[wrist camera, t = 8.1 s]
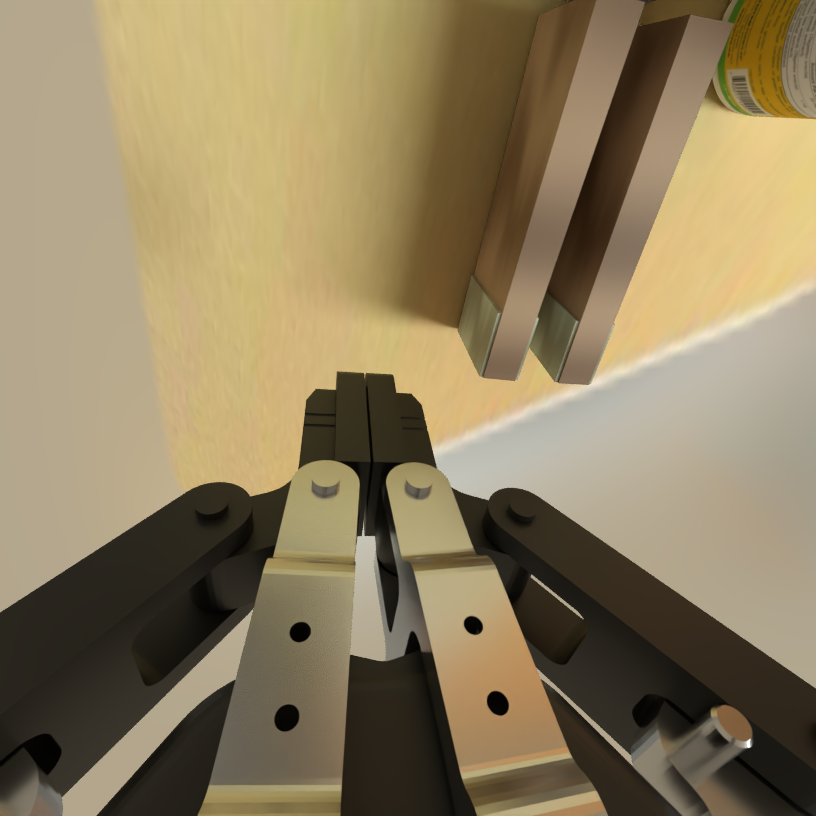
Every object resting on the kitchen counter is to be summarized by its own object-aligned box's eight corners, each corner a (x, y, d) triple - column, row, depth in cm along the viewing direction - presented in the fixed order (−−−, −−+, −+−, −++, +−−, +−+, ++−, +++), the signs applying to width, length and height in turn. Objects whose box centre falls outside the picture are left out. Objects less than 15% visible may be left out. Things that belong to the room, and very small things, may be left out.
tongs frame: (586, -157, 15) (728, -306, 9) (704, -125, 16) (901, -247, 10) (475, 332, 25) (513, 401, 19) (551, 338, 25) (610, 406, 20)
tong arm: (535, 13, 17) (595, -12, 13) (578, 25, 18) (649, 3, 14) (457, 329, 24) (480, 377, 20) (489, 333, 25) (518, 381, 21)
